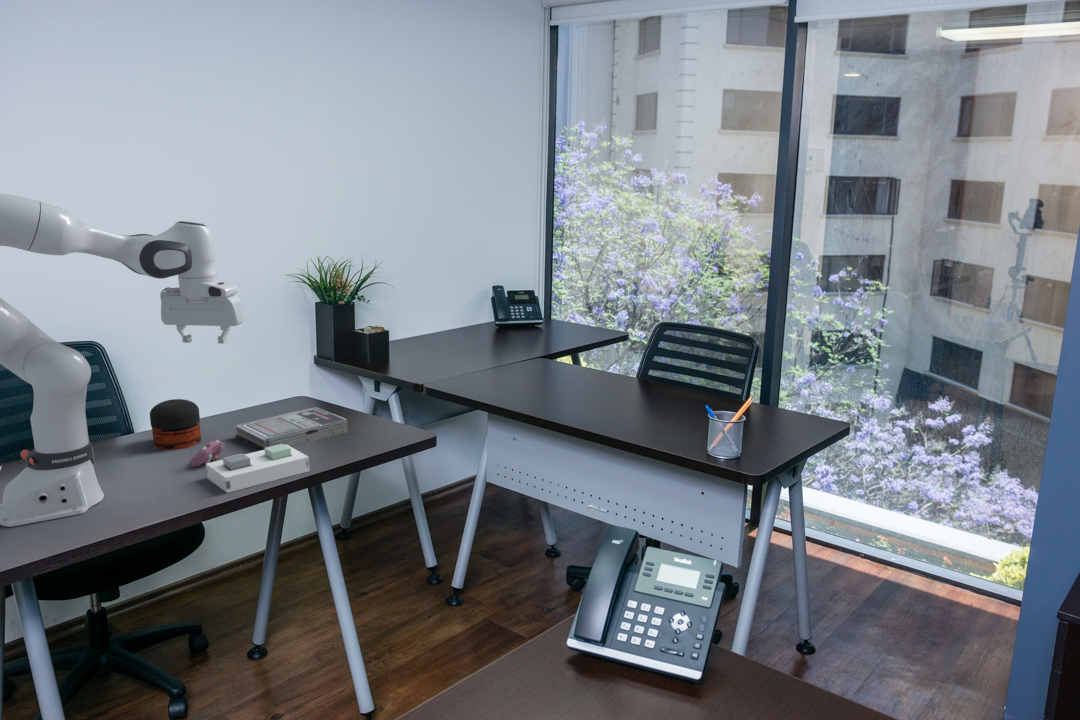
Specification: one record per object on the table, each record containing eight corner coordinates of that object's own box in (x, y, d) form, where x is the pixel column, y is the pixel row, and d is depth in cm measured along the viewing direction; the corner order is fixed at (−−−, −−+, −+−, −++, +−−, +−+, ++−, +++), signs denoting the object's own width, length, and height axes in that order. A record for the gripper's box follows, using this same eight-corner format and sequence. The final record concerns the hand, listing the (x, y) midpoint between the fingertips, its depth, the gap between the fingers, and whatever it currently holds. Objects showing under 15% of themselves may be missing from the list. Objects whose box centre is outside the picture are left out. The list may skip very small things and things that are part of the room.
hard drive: (236, 439, 239) (234, 425, 237) (317, 420, 257) (316, 406, 256) (265, 455, 226) (264, 440, 225) (349, 433, 245) (348, 419, 244)
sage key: (273, 463, 210) (272, 452, 209) (265, 458, 213) (264, 447, 213) (291, 459, 213) (290, 448, 212) (283, 454, 217) (282, 443, 216)
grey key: (231, 474, 203) (230, 462, 202) (223, 468, 206) (222, 457, 206) (250, 469, 206) (250, 458, 205) (243, 464, 210) (242, 453, 209)
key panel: (227, 493, 199) (225, 477, 198) (207, 478, 208) (205, 463, 207) (309, 471, 213) (308, 456, 212) (287, 458, 222) (286, 444, 221)
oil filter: (144, 443, 234) (167, 453, 226) (140, 403, 231) (162, 411, 223) (187, 432, 244) (210, 441, 236) (183, 393, 241) (206, 401, 233)
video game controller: (201, 474, 215) (209, 452, 213) (187, 465, 215) (195, 444, 213) (222, 461, 224) (231, 440, 222) (208, 453, 225) (217, 432, 223)
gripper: (152, 289, 197) (158, 344, 200) (231, 290, 194) (236, 346, 197) (167, 285, 203) (173, 339, 206) (243, 286, 200) (248, 340, 203)
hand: (204, 342), depth 202 cm, fingers open, 8 cm apart
